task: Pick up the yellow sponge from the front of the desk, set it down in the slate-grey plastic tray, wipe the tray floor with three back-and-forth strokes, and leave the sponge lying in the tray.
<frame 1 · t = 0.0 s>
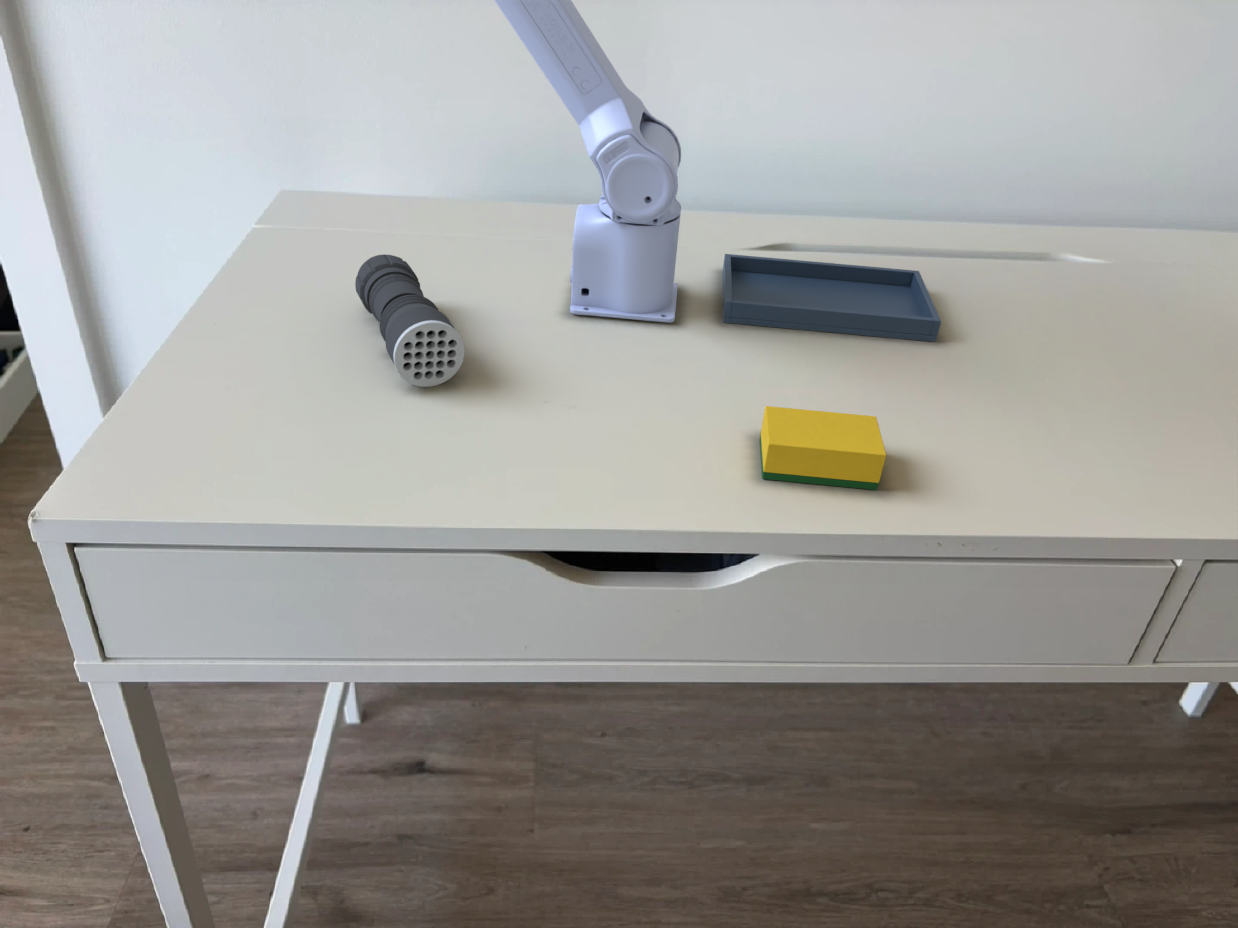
tray: (822, 305, 89), on the table
flashlight: (408, 346, 78), on the table
sponge: (816, 464, 67), on the table
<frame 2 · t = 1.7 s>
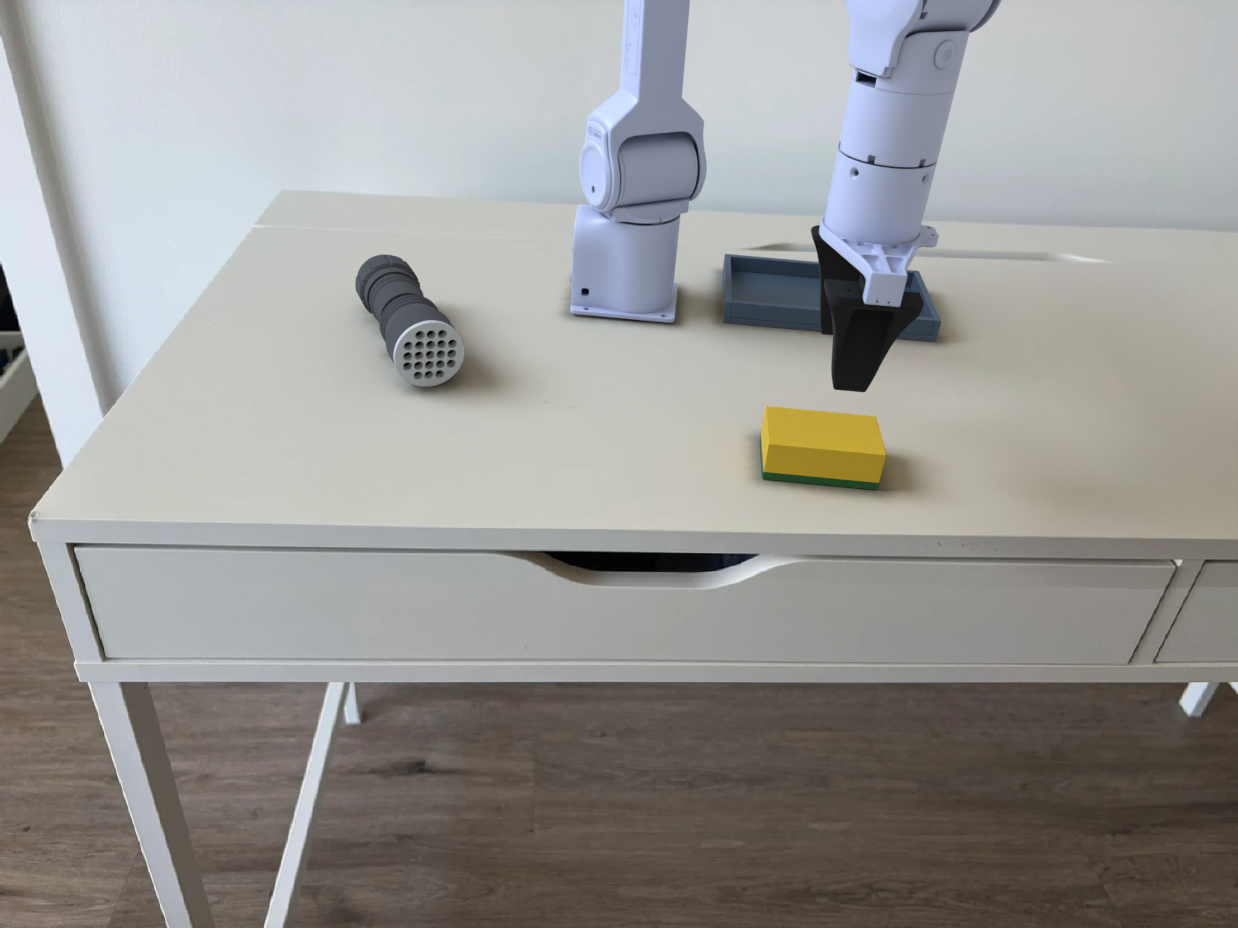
hand: (842, 359, 62), 9 cm above the table, tool pointing down, fingers open, 7 cm apart
nothing on the table moved.
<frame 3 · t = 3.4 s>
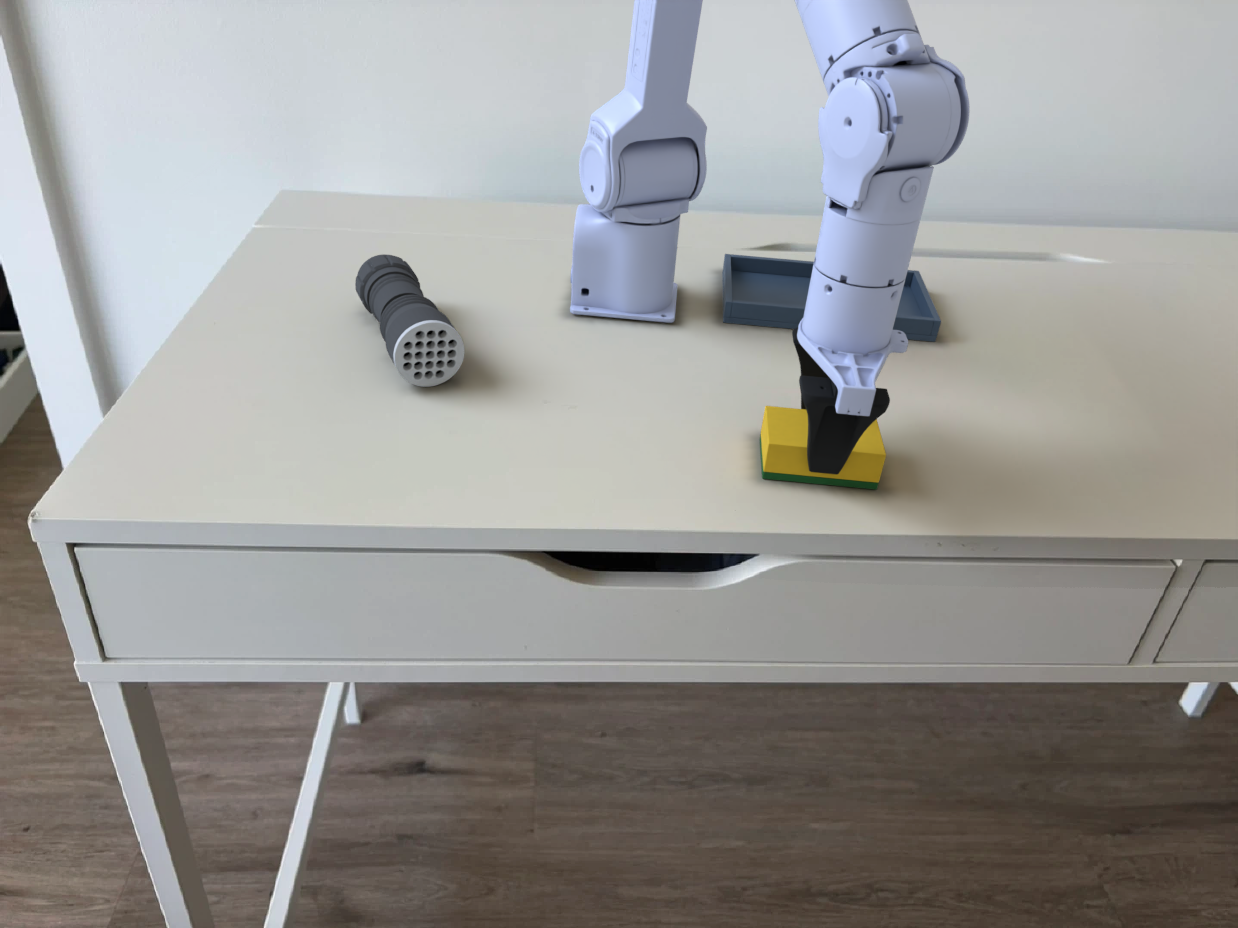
hand: (819, 448, 66), 1 cm above the table, tool pointing down, fingers closed on sponge, 5 cm apart
sponge: (816, 464, 67), on the table, touching gripper
everything else where it was.
when the fingers open (2 cm above the table, at t = 14.5 s): sponge stays where it is, resting on tray.
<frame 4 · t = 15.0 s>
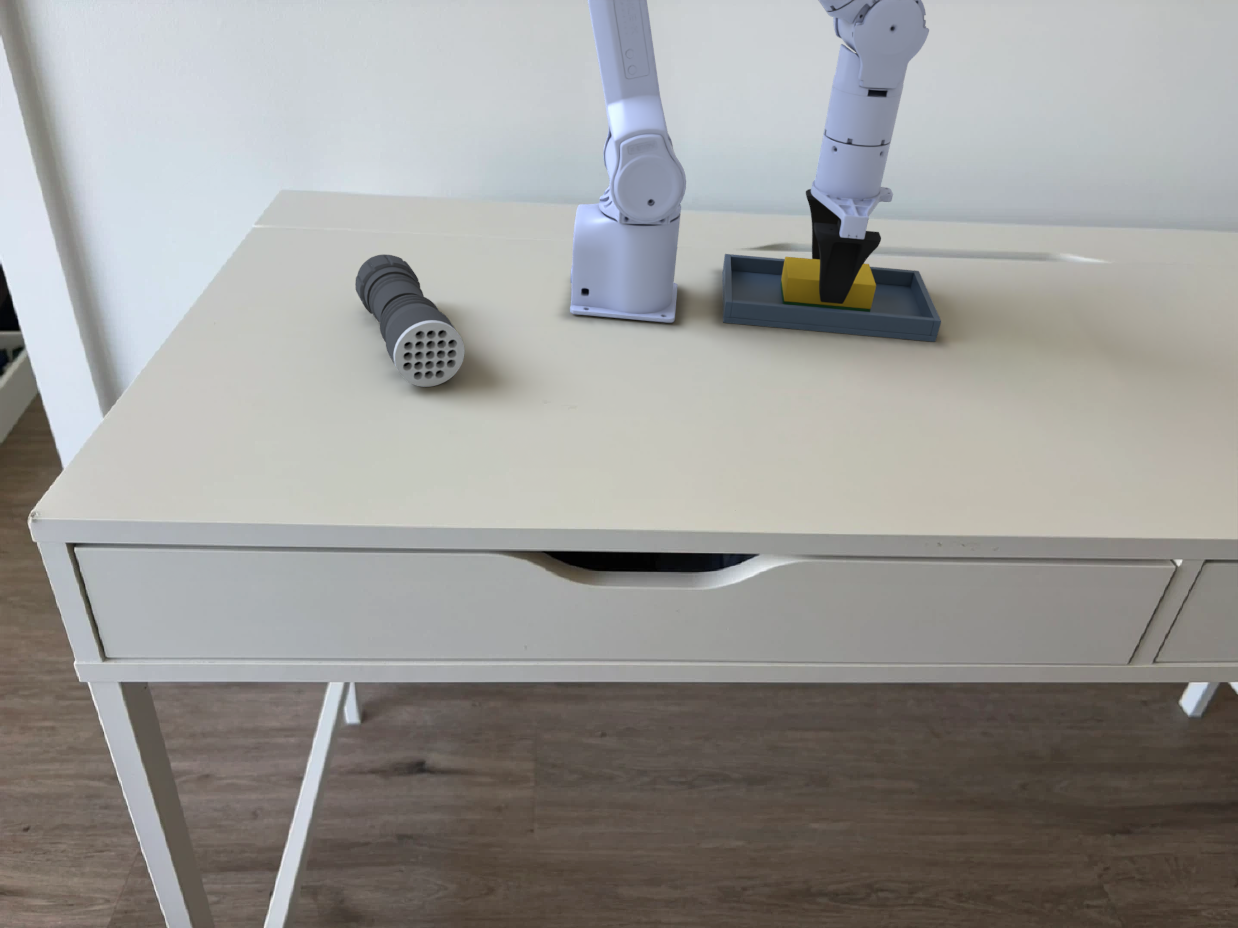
hand: (827, 283, 87), 2 cm above the table, tool pointing down, fingers open, 7 cm apart
sponge: (823, 299, 88), point 1 cm above the table, touching tray
everything else where it was.
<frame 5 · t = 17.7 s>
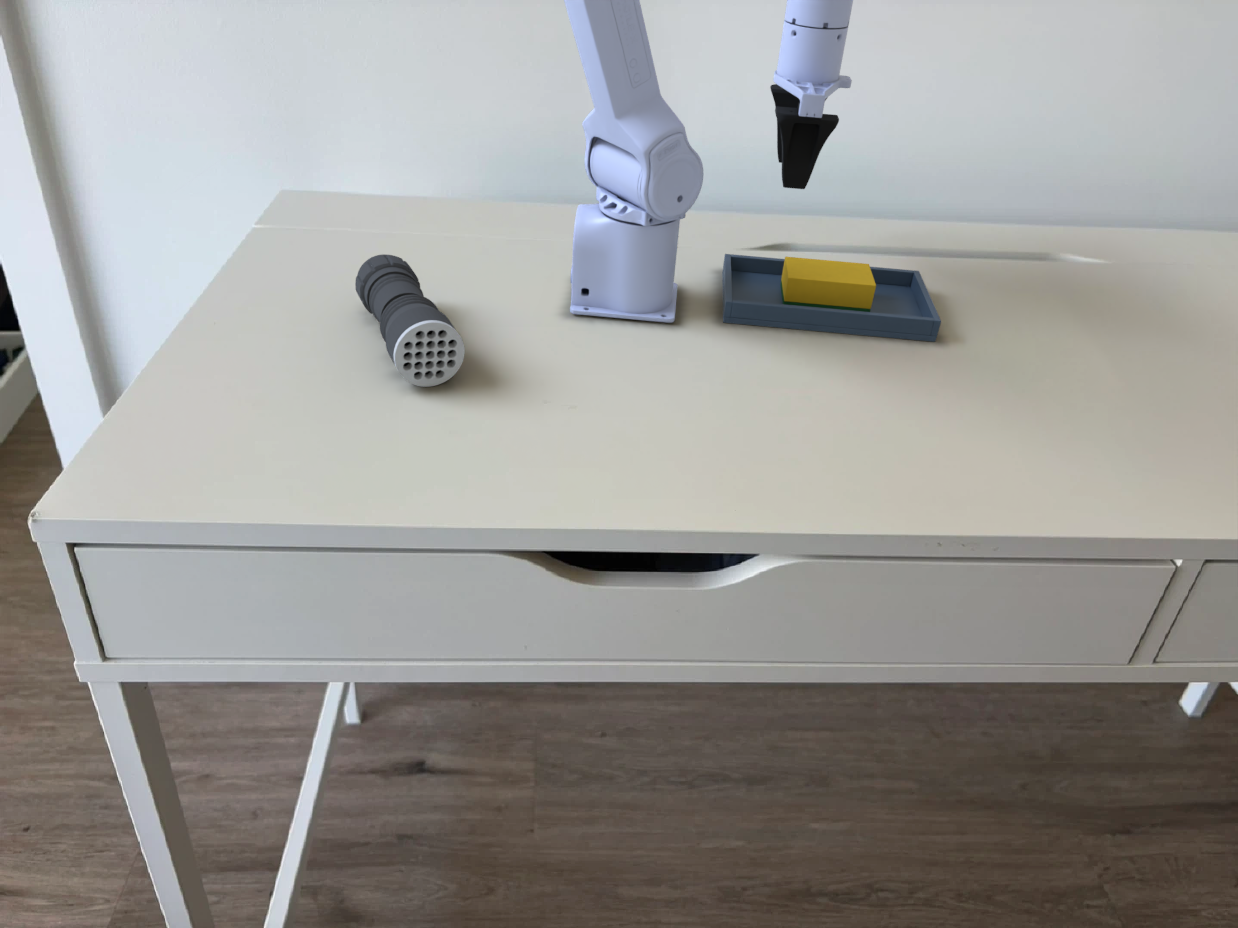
hand: (791, 174, 91), 9 cm above the table, tool pointing down, fingers open, 7 cm apart
nothing on the table moved.
at the end: sponge inside the target area in the tray (0.0 cm from its centre), point 0.6 cm above the tray's base; sponge moved 27.2 cm from its start; the gripper is holding nothing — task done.
